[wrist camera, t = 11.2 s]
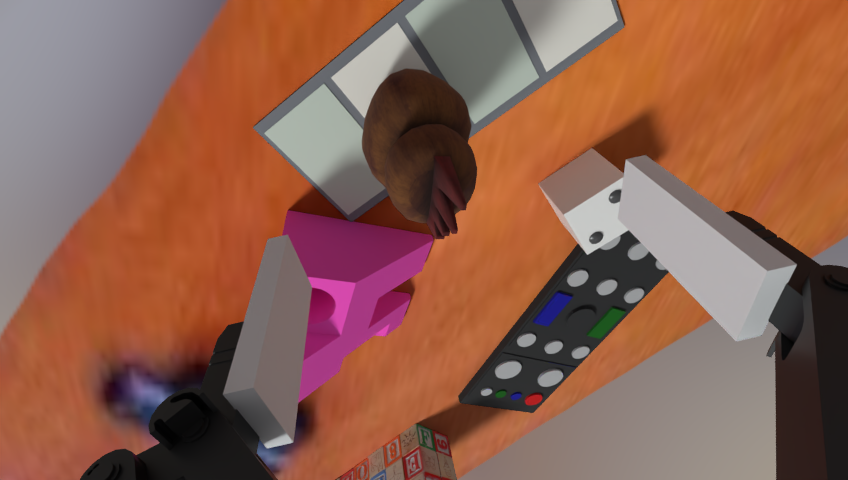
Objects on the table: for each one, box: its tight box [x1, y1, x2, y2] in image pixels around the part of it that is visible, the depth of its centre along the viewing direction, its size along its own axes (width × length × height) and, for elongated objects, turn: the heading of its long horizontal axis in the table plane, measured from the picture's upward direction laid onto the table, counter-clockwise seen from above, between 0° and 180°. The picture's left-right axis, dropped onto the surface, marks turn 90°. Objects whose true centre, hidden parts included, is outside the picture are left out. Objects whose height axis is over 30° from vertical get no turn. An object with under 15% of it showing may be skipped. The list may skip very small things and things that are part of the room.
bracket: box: [282, 210, 433, 403], centre depth 32 cm, size 12×10×10 cm
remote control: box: [458, 230, 669, 413], centre depth 45 cm, size 11×30×2 cm, turn 154°
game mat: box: [253, 0, 624, 222], centre depth 28 cm, size 24×10×1 cm, turn 125°
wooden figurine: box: [362, 68, 477, 239], centre depth 22 cm, size 7×6×15 cm
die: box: [538, 148, 628, 255], centre depth 33 cm, size 5×5×5 cm
